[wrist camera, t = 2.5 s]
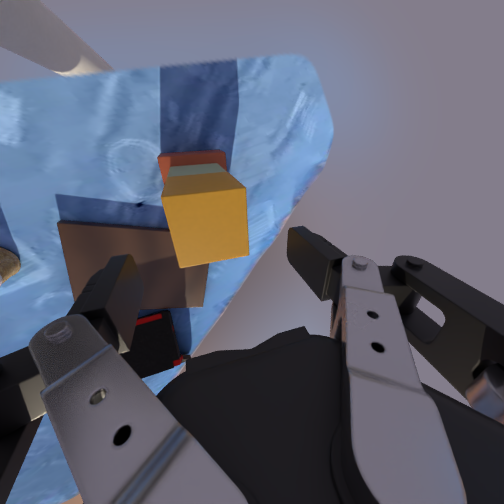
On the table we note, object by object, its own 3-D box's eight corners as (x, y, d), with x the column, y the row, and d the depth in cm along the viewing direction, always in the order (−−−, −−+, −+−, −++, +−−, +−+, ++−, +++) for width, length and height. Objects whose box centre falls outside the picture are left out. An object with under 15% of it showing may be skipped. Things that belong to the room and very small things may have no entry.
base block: (174, 210, 28) (173, 221, 24) (160, 153, 24) (156, 156, 21) (225, 204, 29) (231, 213, 26) (219, 149, 26) (225, 152, 22)
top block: (180, 232, 19) (180, 268, 14) (166, 176, 16) (160, 196, 11) (232, 225, 20) (249, 255, 15) (227, 171, 18) (246, 187, 13)
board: (79, 307, 30) (76, 312, 30) (60, 219, 24) (56, 222, 23) (202, 303, 37) (202, 307, 36) (212, 232, 31) (213, 235, 30)
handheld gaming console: (106, 328, 32) (132, 314, 42) (123, 406, 31) (145, 374, 41) (168, 310, 34) (179, 301, 43) (186, 384, 33) (193, 358, 43)
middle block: (180, 212, 24) (179, 233, 19) (169, 166, 21) (166, 177, 16) (222, 206, 25) (232, 225, 20) (217, 162, 22) (227, 171, 18)
